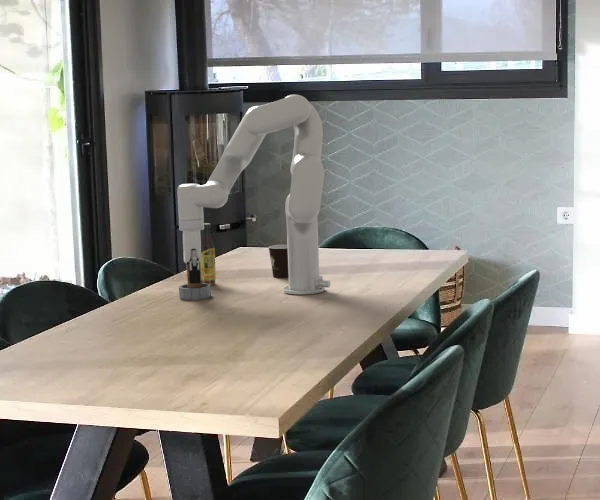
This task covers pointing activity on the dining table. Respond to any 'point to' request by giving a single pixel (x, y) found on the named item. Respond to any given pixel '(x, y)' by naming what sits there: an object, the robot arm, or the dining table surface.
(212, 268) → the sauce bottle
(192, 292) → the grey faceted dish
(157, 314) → the dining table surface
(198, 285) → the brown cylinder
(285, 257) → the coffee mug
